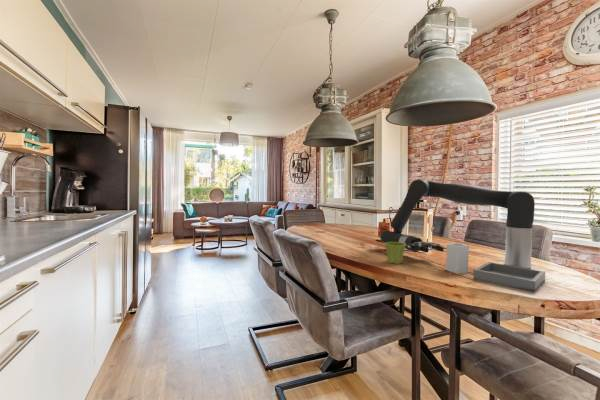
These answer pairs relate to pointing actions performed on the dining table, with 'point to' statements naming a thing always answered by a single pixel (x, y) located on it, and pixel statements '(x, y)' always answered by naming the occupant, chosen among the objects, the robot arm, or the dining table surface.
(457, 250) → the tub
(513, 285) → the tray
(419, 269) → the dining table surface
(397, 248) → the plant pot
